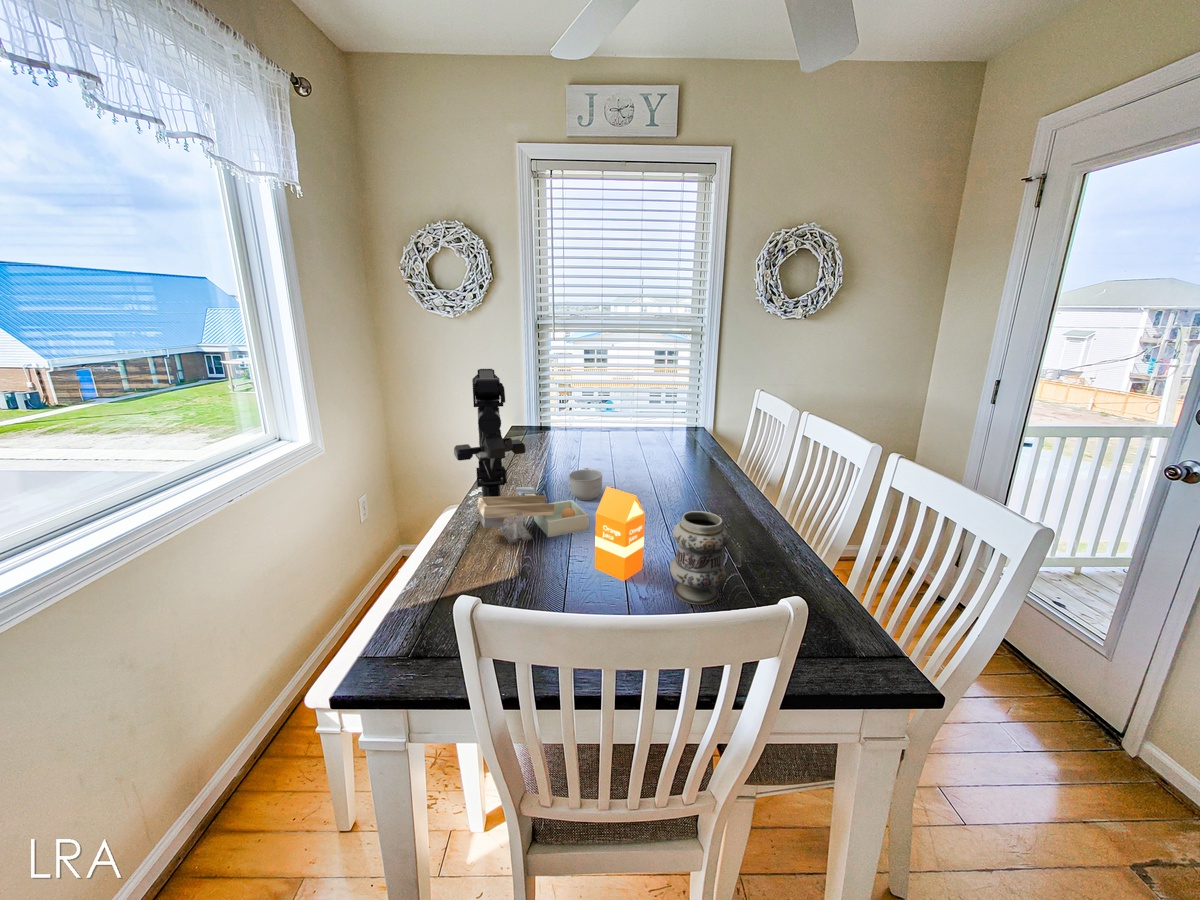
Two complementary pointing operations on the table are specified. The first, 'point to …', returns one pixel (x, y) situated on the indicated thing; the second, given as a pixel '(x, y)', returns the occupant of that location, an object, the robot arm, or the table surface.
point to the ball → (568, 513)
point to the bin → (563, 520)
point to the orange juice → (619, 534)
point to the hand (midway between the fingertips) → (491, 478)
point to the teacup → (585, 484)
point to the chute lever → (512, 506)
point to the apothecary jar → (699, 557)
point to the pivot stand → (515, 529)
